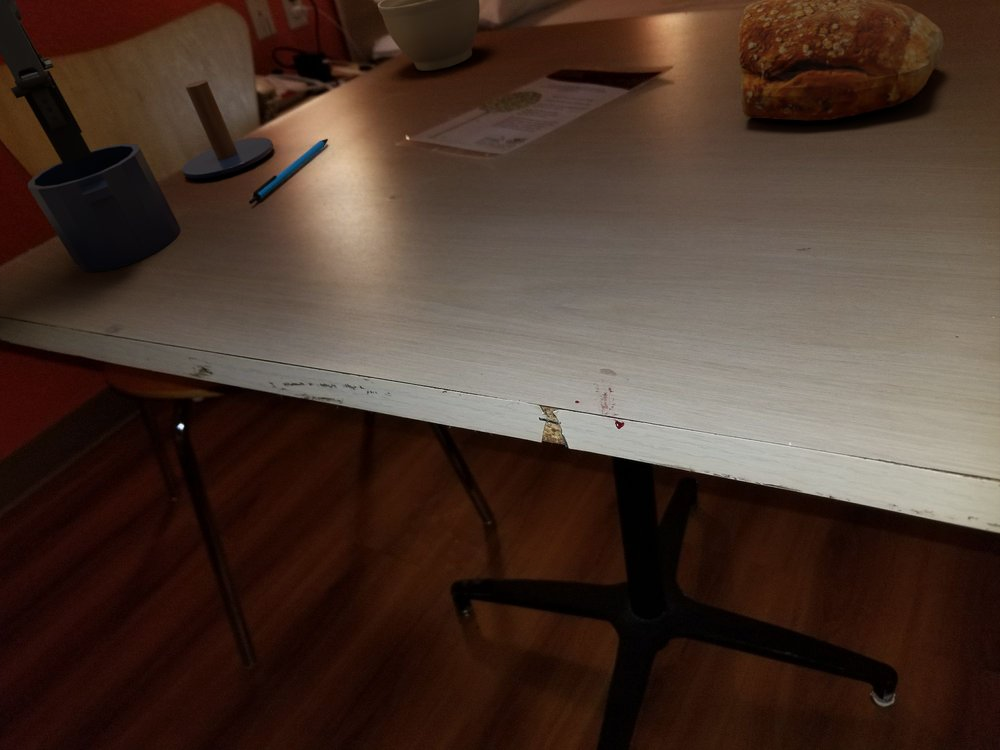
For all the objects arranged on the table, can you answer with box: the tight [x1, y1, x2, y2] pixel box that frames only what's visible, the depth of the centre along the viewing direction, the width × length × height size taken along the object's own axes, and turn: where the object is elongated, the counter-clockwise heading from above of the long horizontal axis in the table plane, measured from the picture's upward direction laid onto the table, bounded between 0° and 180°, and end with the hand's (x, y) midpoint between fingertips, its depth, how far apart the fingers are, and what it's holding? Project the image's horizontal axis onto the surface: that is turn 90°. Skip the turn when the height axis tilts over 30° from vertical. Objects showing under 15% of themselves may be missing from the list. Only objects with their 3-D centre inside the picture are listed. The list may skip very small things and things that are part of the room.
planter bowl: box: [377, 0, 481, 72], centre depth 118 cm, size 16×16×11 cm
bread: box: [737, 0, 945, 122], centre depth 72 cm, size 20×18×10 cm
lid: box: [181, 79, 274, 179], centre depth 96 cm, size 12×12×11 cm
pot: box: [27, 143, 181, 273], centre depth 79 cm, size 11×17×10 cm
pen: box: [248, 138, 329, 205], centre depth 90 cm, size 1×19×1 cm, turn 162°
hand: (73, 147), depth 75 cm, fingers open, 12 cm apart
